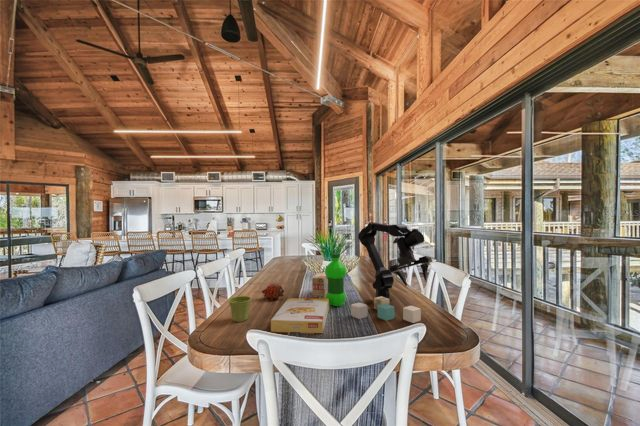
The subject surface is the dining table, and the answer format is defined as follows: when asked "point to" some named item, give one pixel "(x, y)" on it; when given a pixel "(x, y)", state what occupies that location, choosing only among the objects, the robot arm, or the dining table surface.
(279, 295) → the dragon fruit
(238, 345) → the dining table surface
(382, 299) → the light ash cube
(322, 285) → the printed food carton
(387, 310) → the teal cube
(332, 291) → the plastic bottle
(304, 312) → the cereal box
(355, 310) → the pale grey cube
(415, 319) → the cream cube
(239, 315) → the plant pot
